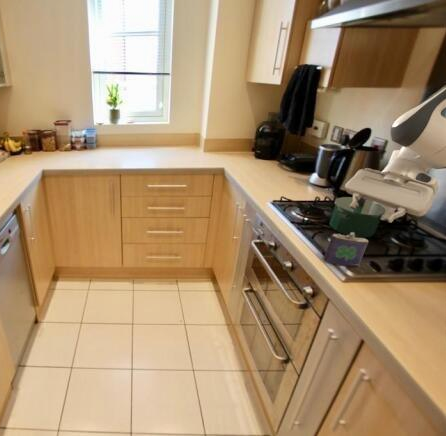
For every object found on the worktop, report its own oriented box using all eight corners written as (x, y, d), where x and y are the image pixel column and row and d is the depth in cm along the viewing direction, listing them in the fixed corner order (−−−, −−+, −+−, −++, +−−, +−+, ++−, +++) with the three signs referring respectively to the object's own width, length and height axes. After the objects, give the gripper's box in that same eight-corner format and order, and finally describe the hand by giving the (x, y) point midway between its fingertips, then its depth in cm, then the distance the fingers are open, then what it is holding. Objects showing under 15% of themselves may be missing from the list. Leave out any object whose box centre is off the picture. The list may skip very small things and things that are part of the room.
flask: (357, 263, 95) (369, 233, 90) (360, 269, 93) (372, 238, 88) (322, 257, 99) (332, 227, 94) (324, 262, 96) (334, 232, 91)
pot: (386, 229, 113) (395, 208, 109) (355, 243, 105) (364, 221, 101) (347, 214, 124) (354, 194, 120) (316, 226, 116) (323, 205, 112)
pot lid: (393, 211, 108) (398, 199, 106) (369, 221, 102) (374, 208, 100) (349, 196, 120) (353, 185, 117) (325, 205, 114) (329, 193, 112)
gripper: (360, 160, 97) (331, 196, 98) (444, 181, 81) (409, 223, 82) (363, 172, 101) (335, 205, 102) (444, 194, 85) (410, 234, 86)
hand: (369, 214), depth 92 cm, fingers open, 8 cm apart
